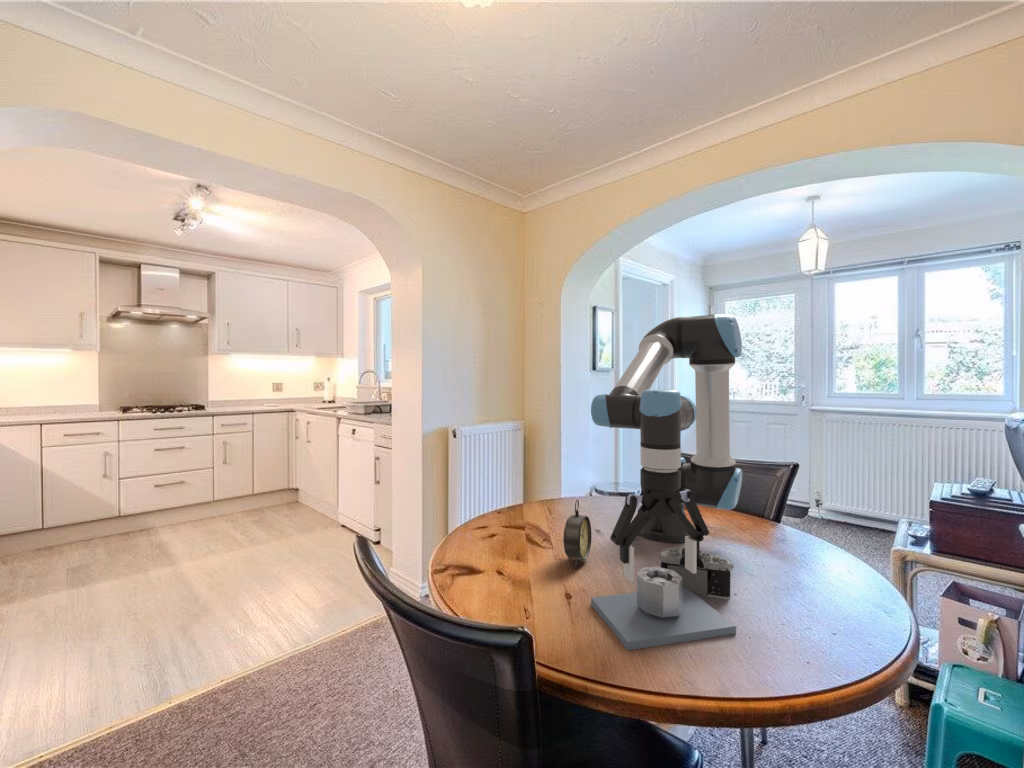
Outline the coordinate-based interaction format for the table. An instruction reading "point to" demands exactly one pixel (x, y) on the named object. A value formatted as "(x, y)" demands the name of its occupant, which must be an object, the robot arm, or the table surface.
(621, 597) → the shaft block
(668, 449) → the robot arm
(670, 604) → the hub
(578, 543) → the alarm clock
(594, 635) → the table surface
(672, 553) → the camera
